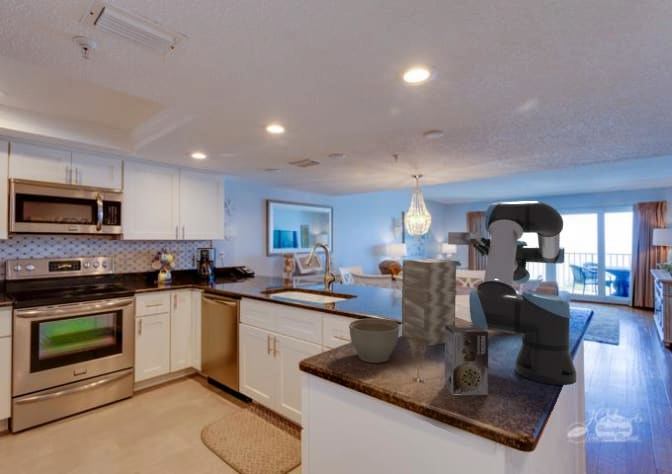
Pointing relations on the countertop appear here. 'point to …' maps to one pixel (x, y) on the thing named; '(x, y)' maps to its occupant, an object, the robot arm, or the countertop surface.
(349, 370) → the countertop surface
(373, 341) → the planter bowl
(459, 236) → the brown box and bar
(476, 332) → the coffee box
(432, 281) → the birch shelf
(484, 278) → the robot arm
